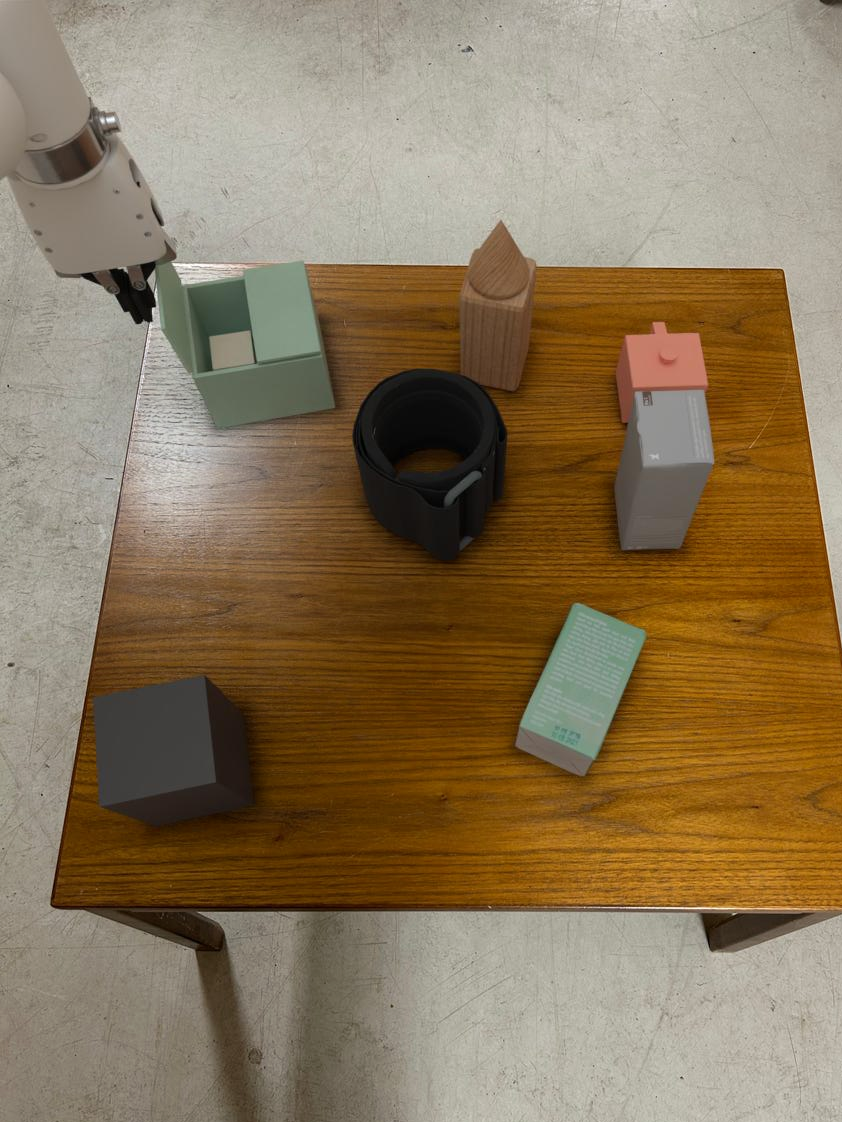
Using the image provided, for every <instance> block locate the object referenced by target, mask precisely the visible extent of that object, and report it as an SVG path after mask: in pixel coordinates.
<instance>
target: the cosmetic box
mask: <svg viewBox="0 0 842 1122" xmlns="http://www.w3.org/2000/svg"><path fill="white" fill-rule="evenodd" d="M707 404H708V403H707V398H706V392H704V390H678V391H639V392H635V394H634V398H633V402H632V407H631V412H630V416H629V421H628V423H627V427H626V431H625V437H624V441H623V443H622V444H623V445H622V449H621V455H620V459H619V464H618V467H617V473H616V477H615V481H614V485H613V491H614V500H615V507H616V508H615V511H616V519H617V527H618V537H619V542H620V544H619V545H620V550H621V551H635V550H636V551H637V550H639V551H640V550H665V549H666V550H667V549H668V550H669V549H670V550H678V549H680V548H681V549H682V547H683V543H684V540H685V538H686V536H687V533H688V530H689V527H690V525H691V523H692V520H693V517H694V515H695V513H696V510H697V508H698V505H699V502H700V500H701V498H702V495H703V492H704V490H705V487H706V485H707V482H708V480H709V477H710V475H711V472H712V470H713V467H714V465H715V463H716V462H715V456H714V455H715V453H714V446H713V438H712V430H711V424H710V417H709V411H708V405H707Z"/></svg>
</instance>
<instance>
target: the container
mask: <svg viewBox="0 0 842 1122" xmlns="http://www.w3.org/2000/svg"><path fill="white" fill-rule="evenodd" d="M242 274H243V275H240V276H239V275H238V276H233V277H225V278H220V279H215V280H208V281H207V280H206V281H201V282H195V283H189V284H182V292H183V300H184V309H185V317H186V325H187V334H188V342H189V351H190V359H191V368H192V373H191V374H192V380H193V381H194V384H195V387H196V388H197V390H198V391H199V394H200V396H201V398H202V400H203V402H204V404H205V406H206V407H207V410H208V412H209V414H210V417H211V418H212V420H213V422H214V424H215V426H216V428H217V429H225V428H228V427H229V428H230V427H235V426H240V425H247V424H252V423H258V422H264V421H270V420H276V419H281V418H282V419H283V418H287V417H291V416H298V415H304V414H309V413H310V414H311V413H315V412H322V411H326V410H327V411H328V410H333V409H336V403H335V397H334V392H333V386H332V381H331V377H330V371H329V365H328V361H327V354H326V350H325V344H324V339H323V334H322V329H321V323H320V319H319V315H318V311H317V306H316V303H315V299H314V298H315V297H314V294H313V291H312V286H311V282H310V279H309V274H308V269H307V266H306V265H305V261H304V260H303V259H302V260H297V261H291V262H285V263H284V262H283V263H278V264H272V265H271V264H270V265H265V266H264V265H263V266H259V267H252V268H246V269H243V270H242ZM249 330H250V331H251V334H252V337H253V340H254V346H255V353H256V359H257V363H258V364H252V365H246V366H240V367H234V368H228V369H222V370H216V371H213V367H212V358H211V349H210V339H209V337H210V336H217V335H223V334H230V333H236V332H243V331H249Z"/></svg>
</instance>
